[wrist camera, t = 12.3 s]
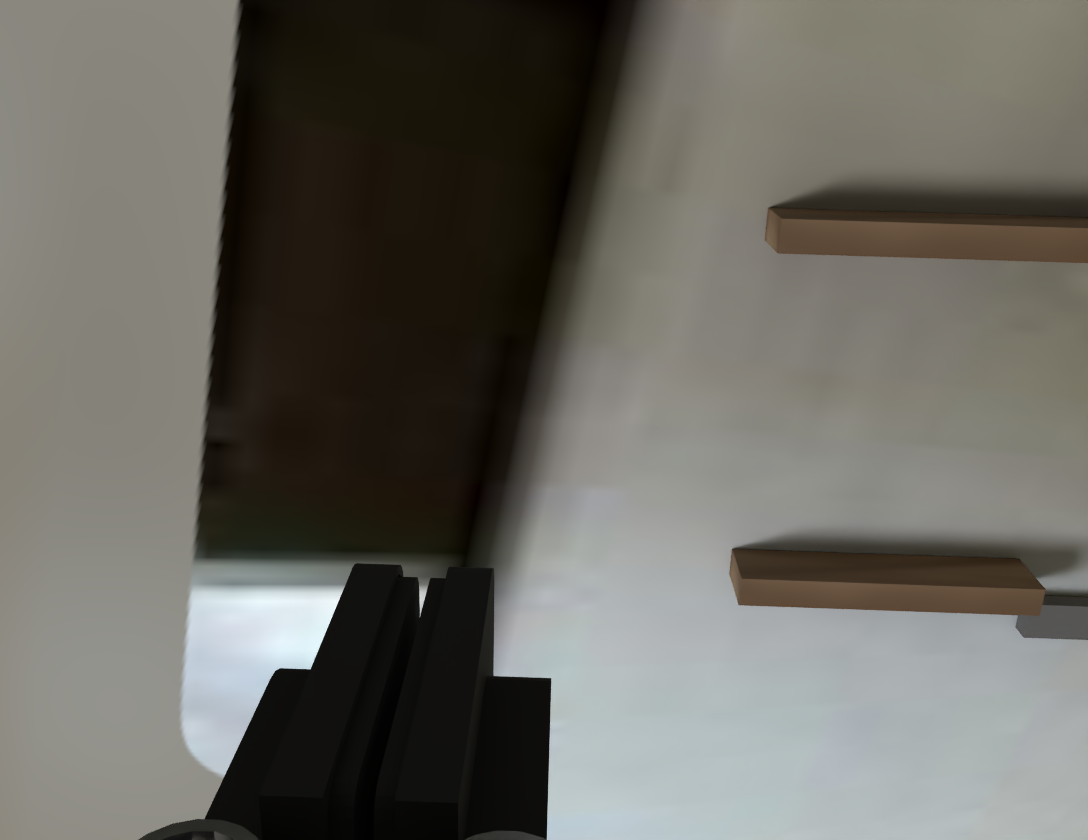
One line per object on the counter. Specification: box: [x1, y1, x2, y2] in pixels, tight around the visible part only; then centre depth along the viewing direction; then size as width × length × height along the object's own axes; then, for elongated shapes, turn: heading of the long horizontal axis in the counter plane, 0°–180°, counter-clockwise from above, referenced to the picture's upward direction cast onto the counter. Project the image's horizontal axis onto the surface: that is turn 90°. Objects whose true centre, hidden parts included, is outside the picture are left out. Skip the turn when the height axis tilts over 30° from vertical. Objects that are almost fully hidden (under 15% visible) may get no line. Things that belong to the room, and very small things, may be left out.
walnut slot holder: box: [729, 208, 1088, 616], centre depth 38 cm, size 15×12×2 cm
